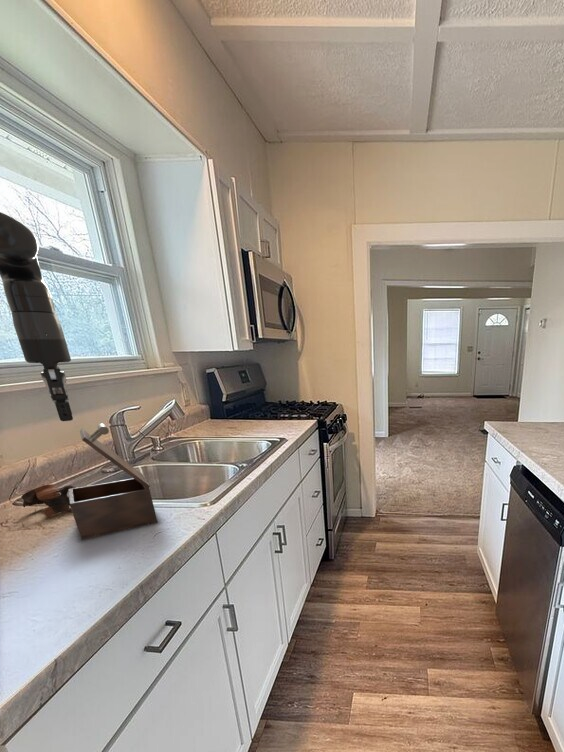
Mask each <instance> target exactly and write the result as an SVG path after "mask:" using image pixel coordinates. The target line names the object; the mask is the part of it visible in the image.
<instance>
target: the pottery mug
mask: <svg viewBox="0 0 564 752" xmlns="http://www.w3.org/2000/svg"><path fill="white" fill-rule="evenodd" d="M72 488H76V486H74V485H70V484H69V485H68V484H67V485H64V486H62V487H59V488H58V487H55V485H54V484H52V483H49V484H44V485H40V486H38V487H35V488H33V489H30V490H29V491H26V492H25V493H23V494H22V495H21V499H22V500H23V502H22V507H23V508H26V507H32V506H36V505H45V506H47V507H46V508H44V509H42V510H41V512H42V513H43V514H44V515H45V517H46V518H49V517H53V516H55V515H58V514H60V513H65V512H68V511H70V510H71V507H70V502H69V495H68V493H69V489H72Z"/></svg>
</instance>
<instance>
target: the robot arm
mask: <svg viewBox="0 0 564 752" xmlns="http://www.w3.org/2000/svg"><path fill="white" fill-rule="evenodd" d="M38 252H39V243H38V240H37V238H36V236H35V234H34V233H33V231H32V230H31V229H30V228H29V227H27V225H25V224H24V223H23V222H22V221H19V220H18V219H16V218H14V217H13V216H10V215H8V214H6V213H4V212H1V211H0V279H1V281H2V286H3V287H2V288H3V291H4V295H5V298H6V301H7V304H8V307H9V310H10V312H11V317H12V318H11V319H12V324H13V329H14V331H15V333H16V336H17V340H18V342H19V345H20V349H21V351H22V354H23V358H24V360H25V362H26V363H28V364H40V365H42V366H43V371H41V372H40V376H41V379H42V382H44V384H45V388H46V391H47V394H49V395H50V399H51V401H52V402H53V403H54V406H55V408H56V412H57V415H58V417H59V420H60V421H61V422H70V421H73V420H74V417H73V413H72V412H73V411H72V408H71V405H70V402H69V394H68V393H69V389H68V385H67V376H66V373H65V371H61V368H60V367H59V365H58V364H60V363H69V362H71V361H72V358H71V355H70V351H69V348H68V345H67V341H66V337H65V333H64V330H63V327H62V324H61V322H60V320H59V318H58V314H57V312H56V307H55V306H54V302H53V298H52V294H51V292H50V290H49V288H48V286H47V284H46V283H45V281H44V278H43V274H42V270H41V267H40V263H39V260H38V255H37V254H38Z"/></svg>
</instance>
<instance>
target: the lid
mask: <svg viewBox="0 0 564 752" xmlns="http://www.w3.org/2000/svg"><path fill="white" fill-rule="evenodd" d="M109 432H110V430H109V427H108V426H107V425H106V424H105V423H99V424H98V425H97V429H96V430H95V431H94V432H93V433H92V434H90V433H89V432H88V431H86V430H85V429H84V428H81V429H79V434H80V438H81V439H80V440H81V441H83V442H84V443H85V444H86V445H88V446H89V447H90V448H92V449H93V450H94V451H96V452H97V453H99V454H100V455H102V456H103V457H104V458H105V459H107V460H108V461H110V462H111V463H112V464H114V465H115V466H116V467H118V468H119V469H120V470H122V471H123V472H125V473H126V474H127V475H128V476H130V477H131V478H134V479H135V480H137V481H138V482H139V483H141V484H142V485H144V486H145V487H146V488H149V489H150V487H151V485H150V484H149V482H148V480H147V479H146V477H145V476H144V474H143V473H142V472H140V471H139V470H138V469H137V468H136V467H134V466H132V465H131V464H130V463H129V462H127V461H125V460H124V459H123V457H120V456H119V455H118V454H116V453H115V452H114V451H112V450H111V449H110V448H109V447H107V446H106V445H104V443H102V442H101V441H99V440H98V439H100V437H102V435H105V436H106V435H108V434H109Z"/></svg>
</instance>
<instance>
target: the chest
mask: <svg viewBox="0 0 564 752" xmlns="http://www.w3.org/2000/svg"><path fill="white" fill-rule="evenodd" d="M68 497H69V502H70V505H69V508H70V510H71V513H72V516H73V519H74V523H75V525H76V527H77V530H78V534H79V536H80V539H81V540H88V539H91V538H96V537H100V536H105V535H109V534H113V533H117V532H122V531H127V530H131V529H135V528H140V527H144V526H148V525H153V524H157V523H158V522H159V521H158V518H157V517H158V516H157V513H156V510H155V506H154V502H153V498H152V493H151V490H150V487H149V488H146V487H145V486H144V485H142V484H141V483H139V482H138V481H137V480H135V479H134V478H133V477H131V478H126V479H120V480H114V481H109V482H101V483H97V484H89V485H84V486H79V487H75V488H72V489H69V491H68Z"/></svg>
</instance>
